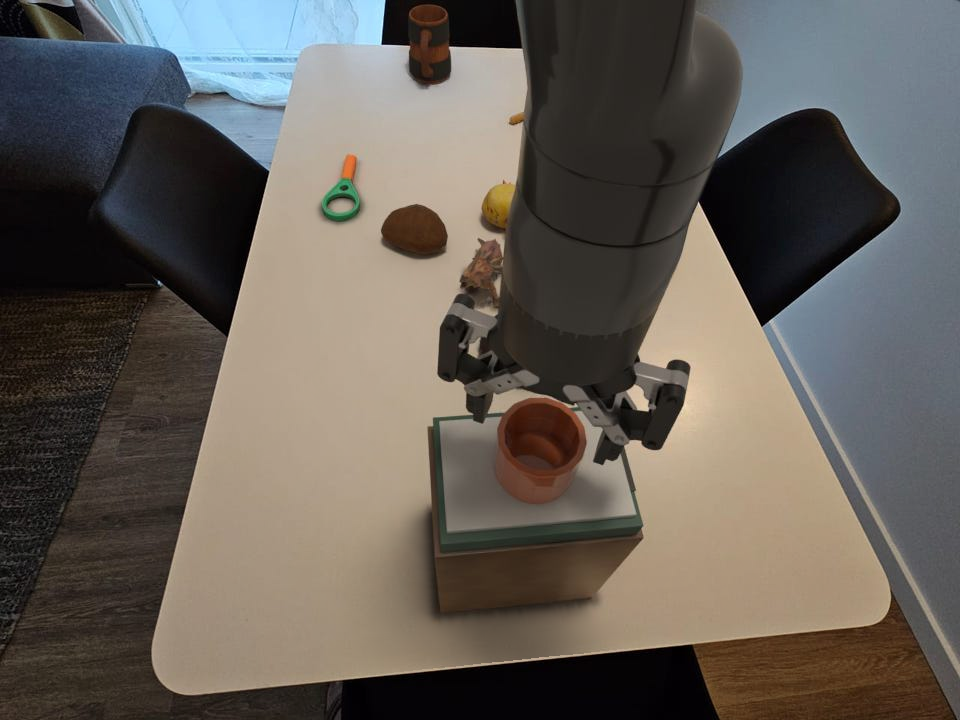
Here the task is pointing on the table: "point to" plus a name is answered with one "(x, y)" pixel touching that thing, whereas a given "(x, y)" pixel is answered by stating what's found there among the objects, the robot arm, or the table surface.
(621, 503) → the scale
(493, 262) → the dinosaur figurine
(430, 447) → the stand
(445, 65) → the mug
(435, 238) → the potato
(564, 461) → the bowl
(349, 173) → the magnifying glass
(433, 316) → the table surface
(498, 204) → the fruit
